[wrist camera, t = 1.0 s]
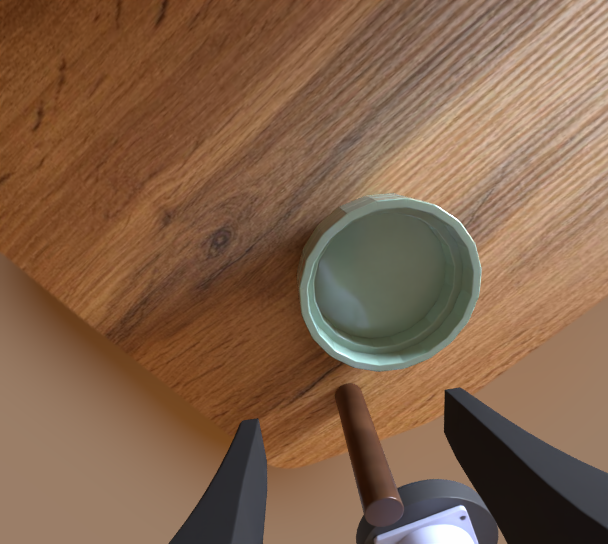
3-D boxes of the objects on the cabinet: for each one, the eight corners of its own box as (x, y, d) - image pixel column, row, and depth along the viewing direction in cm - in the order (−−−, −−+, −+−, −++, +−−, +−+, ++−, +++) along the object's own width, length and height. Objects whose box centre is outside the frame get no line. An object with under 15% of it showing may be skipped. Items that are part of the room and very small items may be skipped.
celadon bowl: (471, 311, 24) (497, 331, 21) (331, 367, 25) (338, 395, 22) (431, 165, 21) (456, 166, 18) (269, 234, 21) (269, 246, 19)
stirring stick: (365, 399, 26) (409, 518, 17) (340, 409, 26) (372, 532, 18) (356, 379, 25) (397, 492, 17) (330, 389, 25) (359, 507, 17)
